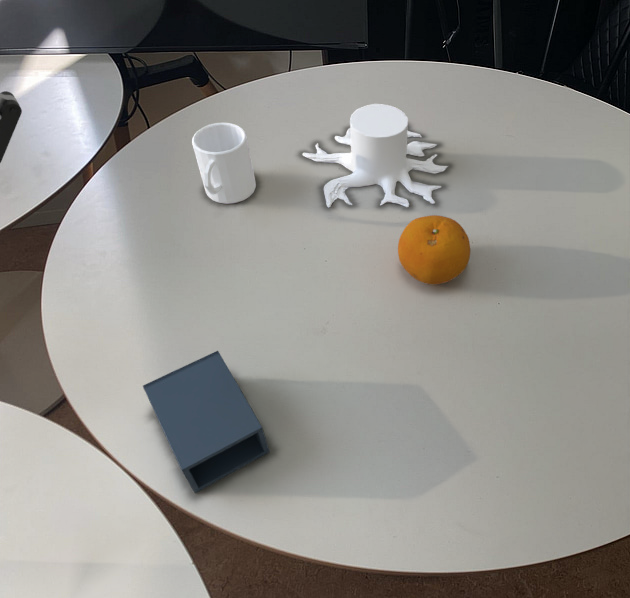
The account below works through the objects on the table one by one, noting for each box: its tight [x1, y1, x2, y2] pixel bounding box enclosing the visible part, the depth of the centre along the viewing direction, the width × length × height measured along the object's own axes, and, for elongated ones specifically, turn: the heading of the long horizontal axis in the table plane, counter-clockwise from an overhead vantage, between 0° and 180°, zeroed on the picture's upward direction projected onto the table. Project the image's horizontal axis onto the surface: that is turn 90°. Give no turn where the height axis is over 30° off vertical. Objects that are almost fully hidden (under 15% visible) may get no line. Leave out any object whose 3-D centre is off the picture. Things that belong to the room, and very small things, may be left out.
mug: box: [191, 122, 257, 205], centre depth 94 cm, size 8×12×10 cm
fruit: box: [397, 214, 471, 286], centre depth 86 cm, size 10×10×8 cm
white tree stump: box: [302, 103, 449, 208], centre depth 100 cm, size 23×25×9 cm
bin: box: [142, 350, 270, 494], centre depth 68 cm, size 6×9×12 cm
